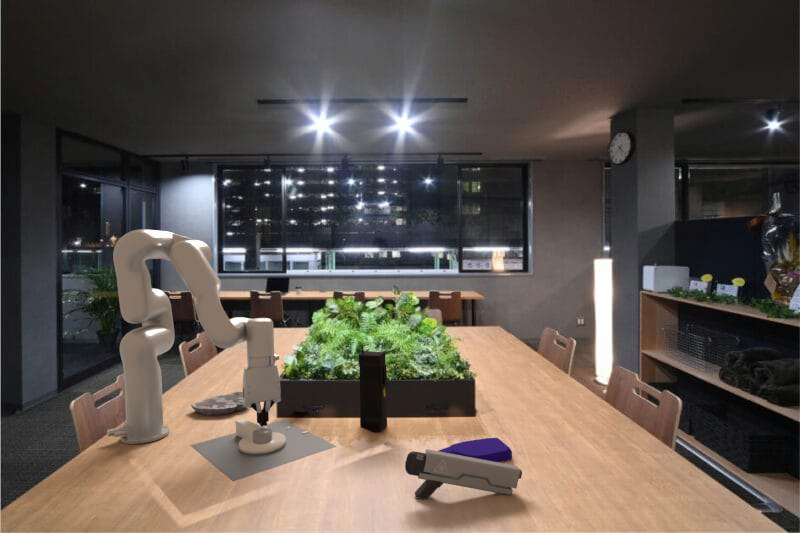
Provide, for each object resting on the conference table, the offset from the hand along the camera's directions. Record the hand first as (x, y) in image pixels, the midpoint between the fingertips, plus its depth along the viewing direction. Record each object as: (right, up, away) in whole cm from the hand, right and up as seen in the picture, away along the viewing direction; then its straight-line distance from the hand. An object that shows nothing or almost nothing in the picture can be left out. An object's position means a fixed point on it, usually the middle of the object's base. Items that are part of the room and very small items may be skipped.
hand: (262, 424), depth 141 cm
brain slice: (-20, -3, +25) cm, 32 cm away
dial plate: (+3, -4, -11) cm, 12 cm away
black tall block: (+32, -3, +4) cm, 33 cm away
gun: (+53, -4, -36) cm, 64 cm away
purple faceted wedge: (+55, -4, -17) cm, 58 cm away
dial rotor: (+1, -2, -9) cm, 9 cm away
